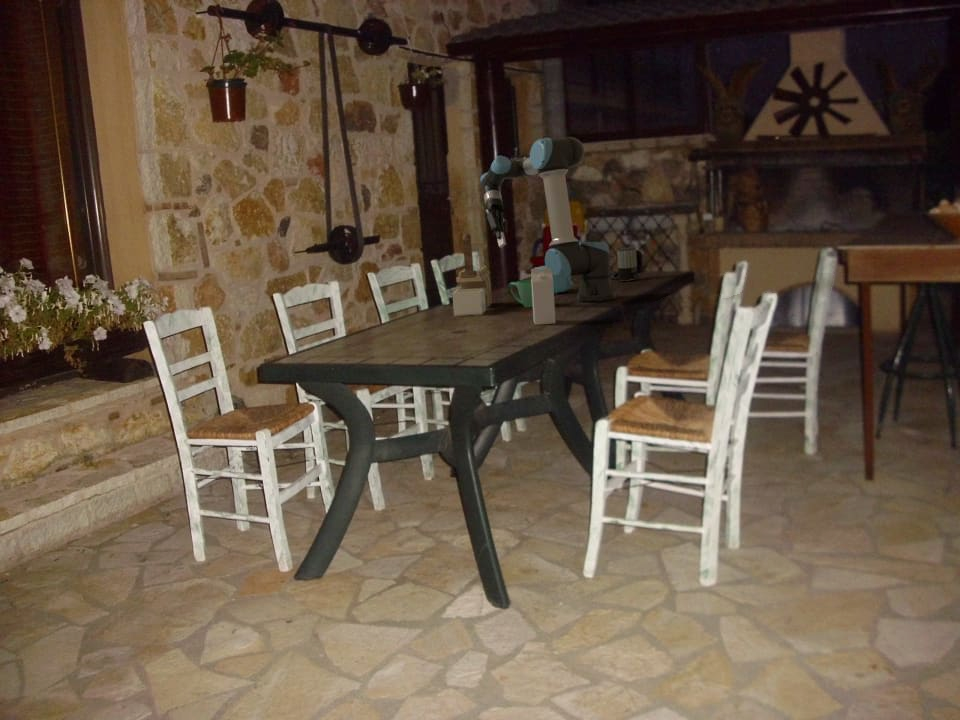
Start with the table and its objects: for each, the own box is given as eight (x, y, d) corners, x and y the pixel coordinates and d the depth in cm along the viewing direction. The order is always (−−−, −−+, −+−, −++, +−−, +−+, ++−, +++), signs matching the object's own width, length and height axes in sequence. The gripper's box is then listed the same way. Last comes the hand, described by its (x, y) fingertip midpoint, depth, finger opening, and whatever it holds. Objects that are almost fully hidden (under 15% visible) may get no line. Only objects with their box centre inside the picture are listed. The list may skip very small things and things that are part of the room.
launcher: (467, 304, 395) (464, 267, 392) (491, 303, 394) (488, 265, 391) (458, 312, 374) (455, 273, 371) (484, 311, 372) (481, 271, 369)
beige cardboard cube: (458, 312, 376) (457, 289, 374) (485, 310, 374) (484, 287, 372) (454, 316, 365) (452, 293, 363) (482, 315, 363) (480, 291, 362)
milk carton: (533, 322, 338) (530, 268, 334) (553, 320, 338) (550, 266, 334) (535, 325, 331) (531, 270, 327) (555, 323, 331) (552, 268, 327)
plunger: (463, 276, 374) (460, 233, 371) (476, 275, 373) (473, 232, 370) (461, 277, 370) (458, 234, 367) (475, 276, 369) (472, 233, 366)
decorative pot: (536, 297, 405) (535, 264, 402) (530, 292, 420) (528, 261, 418) (574, 293, 406) (573, 261, 403) (567, 289, 422) (565, 258, 419)
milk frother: (633, 282, 431) (632, 249, 428) (601, 282, 439) (599, 249, 436) (645, 278, 442) (644, 245, 439) (614, 278, 451) (612, 246, 448)
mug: (547, 304, 378) (546, 279, 376) (534, 308, 370) (532, 282, 369) (517, 303, 387) (515, 279, 385) (503, 307, 379) (501, 282, 377)
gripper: (497, 214, 413) (505, 256, 400) (477, 201, 404) (485, 243, 391) (510, 205, 409) (519, 247, 397) (490, 191, 401) (499, 234, 388)
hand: (502, 245), depth 394 cm, fingers closed
